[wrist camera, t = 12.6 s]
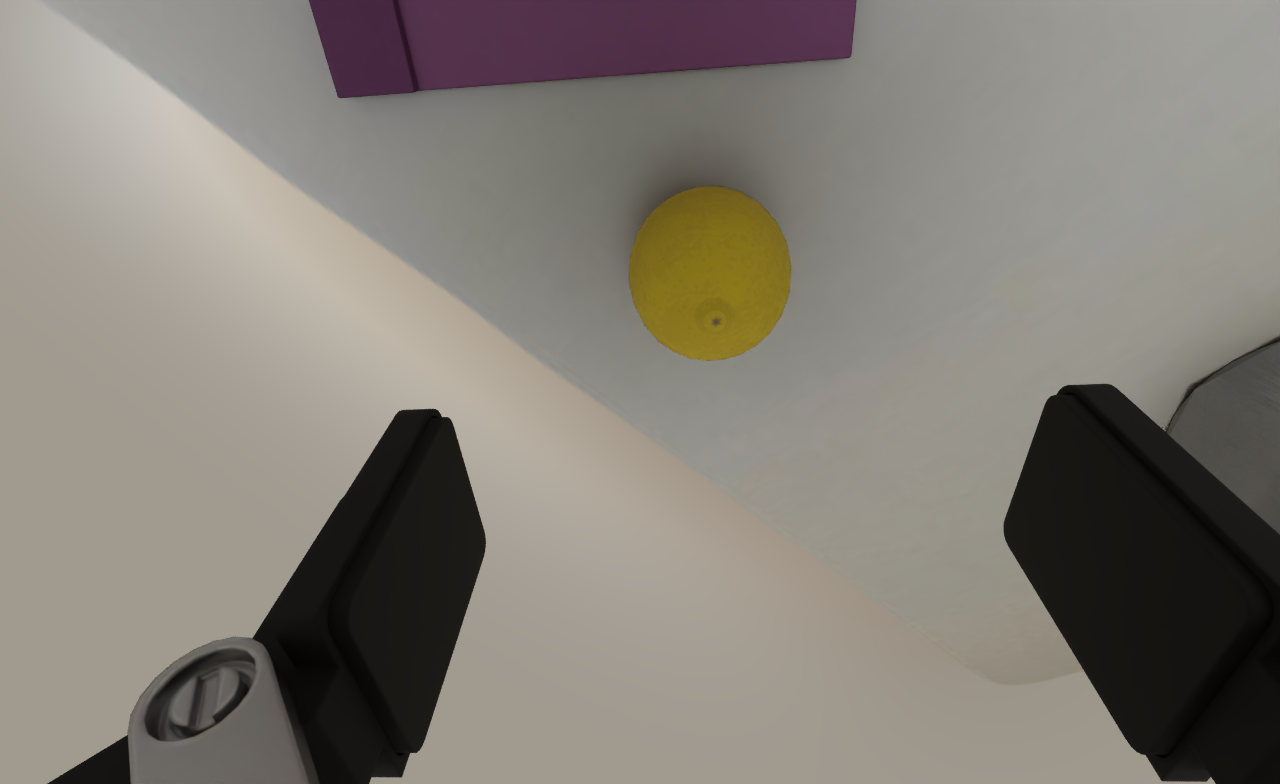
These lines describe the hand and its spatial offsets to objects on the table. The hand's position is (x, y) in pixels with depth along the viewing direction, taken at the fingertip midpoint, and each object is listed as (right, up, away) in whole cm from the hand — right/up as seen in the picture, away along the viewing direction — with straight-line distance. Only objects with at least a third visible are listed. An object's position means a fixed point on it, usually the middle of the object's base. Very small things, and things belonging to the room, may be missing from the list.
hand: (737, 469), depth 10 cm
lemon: (+1, +8, +15) cm, 17 cm away
